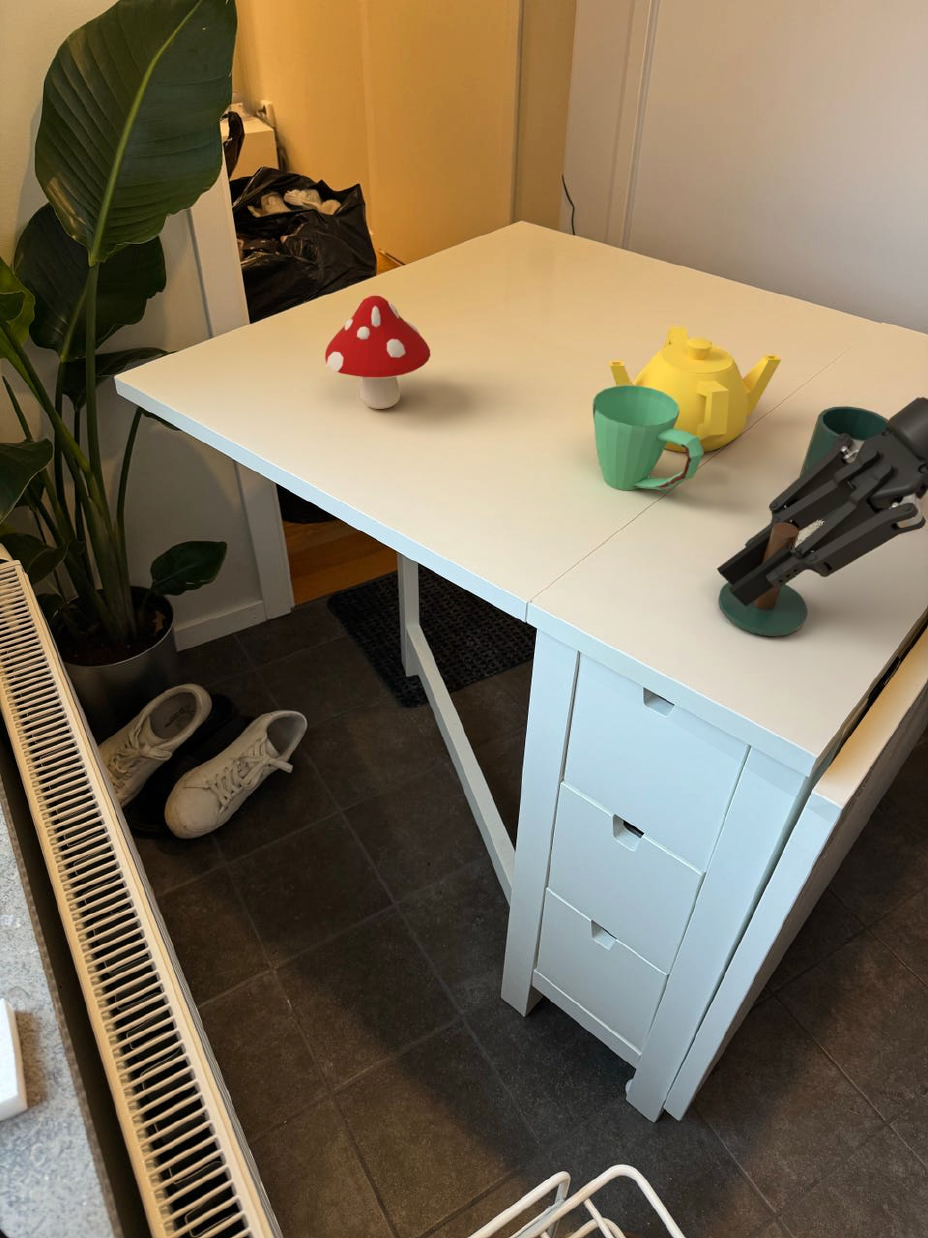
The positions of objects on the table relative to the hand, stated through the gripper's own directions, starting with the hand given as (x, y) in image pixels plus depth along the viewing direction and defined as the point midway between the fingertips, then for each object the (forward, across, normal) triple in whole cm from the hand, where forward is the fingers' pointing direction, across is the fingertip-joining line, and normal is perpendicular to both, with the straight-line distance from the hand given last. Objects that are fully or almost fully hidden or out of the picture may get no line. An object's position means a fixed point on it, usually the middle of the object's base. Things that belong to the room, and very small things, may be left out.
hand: (731, 587), depth 87 cm
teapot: (-3, +37, -9) cm, 38 cm away
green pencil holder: (-11, +18, -17) cm, 27 cm away
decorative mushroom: (+24, +48, +19) cm, 57 cm away
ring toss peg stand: (-1, 0, -5) cm, 5 cm away
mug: (+4, +24, -2) cm, 24 cm away
